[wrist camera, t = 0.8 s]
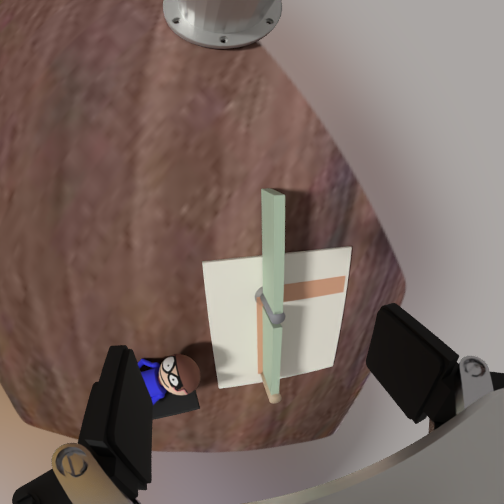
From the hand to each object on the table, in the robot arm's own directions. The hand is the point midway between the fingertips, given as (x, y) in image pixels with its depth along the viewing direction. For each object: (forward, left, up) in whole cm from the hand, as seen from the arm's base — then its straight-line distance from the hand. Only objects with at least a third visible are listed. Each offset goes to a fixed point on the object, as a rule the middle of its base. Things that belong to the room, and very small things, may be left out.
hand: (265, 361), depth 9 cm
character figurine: (+19, -11, -21) cm, 31 cm away
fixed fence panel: (+17, +5, -21) cm, 27 cm away
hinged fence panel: (+4, +5, -20) cm, 21 cm away
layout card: (+14, +7, -21) cm, 26 cm away
